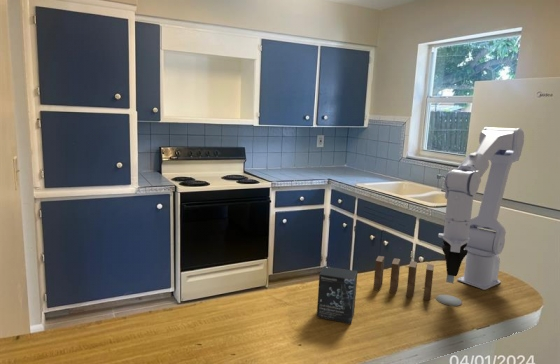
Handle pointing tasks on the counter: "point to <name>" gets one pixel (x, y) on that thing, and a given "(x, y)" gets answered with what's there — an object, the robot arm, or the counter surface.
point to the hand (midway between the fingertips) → (452, 271)
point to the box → (336, 294)
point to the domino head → (450, 279)
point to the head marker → (449, 300)
